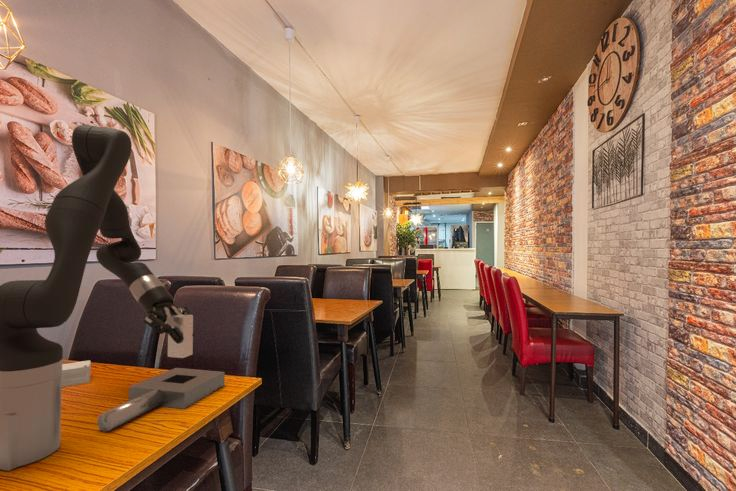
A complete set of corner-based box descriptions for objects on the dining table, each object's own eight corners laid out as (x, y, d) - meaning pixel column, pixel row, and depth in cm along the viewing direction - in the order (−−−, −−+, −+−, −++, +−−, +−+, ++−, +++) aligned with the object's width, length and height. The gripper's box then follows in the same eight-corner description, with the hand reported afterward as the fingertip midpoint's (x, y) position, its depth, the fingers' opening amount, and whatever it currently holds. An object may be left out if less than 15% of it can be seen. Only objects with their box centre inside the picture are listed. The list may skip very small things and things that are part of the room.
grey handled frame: (136, 436, 71) (136, 417, 71) (74, 427, 75) (74, 409, 75) (224, 385, 99) (224, 371, 99) (175, 380, 103) (175, 367, 103)
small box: (57, 381, 103) (58, 364, 103) (90, 375, 108) (91, 359, 108) (54, 389, 97) (54, 371, 97) (89, 383, 102) (90, 365, 102)
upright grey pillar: (183, 358, 91) (183, 317, 92) (167, 356, 93) (168, 316, 93) (192, 354, 95) (193, 315, 95) (177, 353, 96) (178, 314, 96)
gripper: (136, 287, 89) (174, 336, 86) (178, 282, 103) (212, 325, 100) (120, 306, 90) (157, 356, 87) (163, 299, 104) (197, 342, 101)
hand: (186, 339), depth 93 cm, fingers closed on upright grey pillar, 3 cm apart
